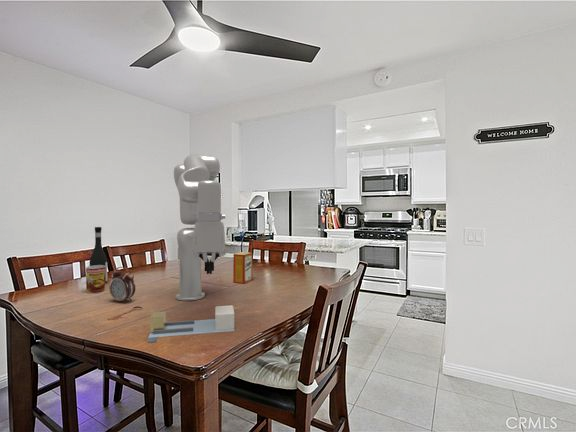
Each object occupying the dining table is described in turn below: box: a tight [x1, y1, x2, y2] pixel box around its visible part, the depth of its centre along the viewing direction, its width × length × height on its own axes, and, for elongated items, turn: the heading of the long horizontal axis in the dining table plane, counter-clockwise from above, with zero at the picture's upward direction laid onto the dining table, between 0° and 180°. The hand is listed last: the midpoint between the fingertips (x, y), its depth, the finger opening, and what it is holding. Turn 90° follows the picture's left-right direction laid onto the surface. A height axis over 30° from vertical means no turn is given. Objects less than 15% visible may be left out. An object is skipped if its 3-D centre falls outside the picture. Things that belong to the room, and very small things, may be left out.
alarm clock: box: [108, 266, 136, 304], centre depth 136 cm, size 11×5×15 cm, turn 70°
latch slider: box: [149, 310, 167, 334], centre depth 102 cm, size 5×4×5 cm
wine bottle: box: [89, 226, 108, 284], centre depth 166 cm, size 8×8×30 cm
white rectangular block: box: [214, 305, 235, 330], centre depth 107 cm, size 9×6×5 cm, turn 13°
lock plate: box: [147, 318, 235, 344], centre depth 105 cm, size 12×26×2 cm, turn 103°
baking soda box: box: [232, 251, 254, 285], centre depth 174 cm, size 10×6×16 cm
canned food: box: [85, 265, 106, 295], centre depth 152 cm, size 8×8×12 cm
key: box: [107, 305, 143, 321], centre depth 121 cm, size 6×1×15 cm
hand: (209, 273), depth 105 cm, fingers closed
